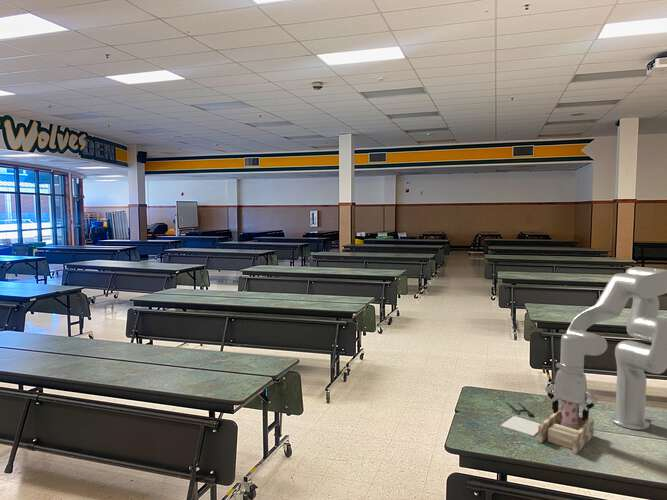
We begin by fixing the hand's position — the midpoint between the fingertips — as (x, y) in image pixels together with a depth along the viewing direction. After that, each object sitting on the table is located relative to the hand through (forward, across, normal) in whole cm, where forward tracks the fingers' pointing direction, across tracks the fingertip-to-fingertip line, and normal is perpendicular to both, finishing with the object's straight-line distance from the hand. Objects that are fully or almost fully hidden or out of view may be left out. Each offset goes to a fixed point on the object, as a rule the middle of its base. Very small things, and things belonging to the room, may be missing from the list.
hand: (569, 415), depth 168 cm
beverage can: (+7, 0, 0) cm, 7 cm away
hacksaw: (+8, -27, +13) cm, 31 cm away
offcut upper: (+5, 0, -7) cm, 9 cm away
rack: (+7, 0, -4) cm, 8 cm away
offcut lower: (+8, 0, -7) cm, 10 cm away
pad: (+7, -15, -4) cm, 17 cm away
